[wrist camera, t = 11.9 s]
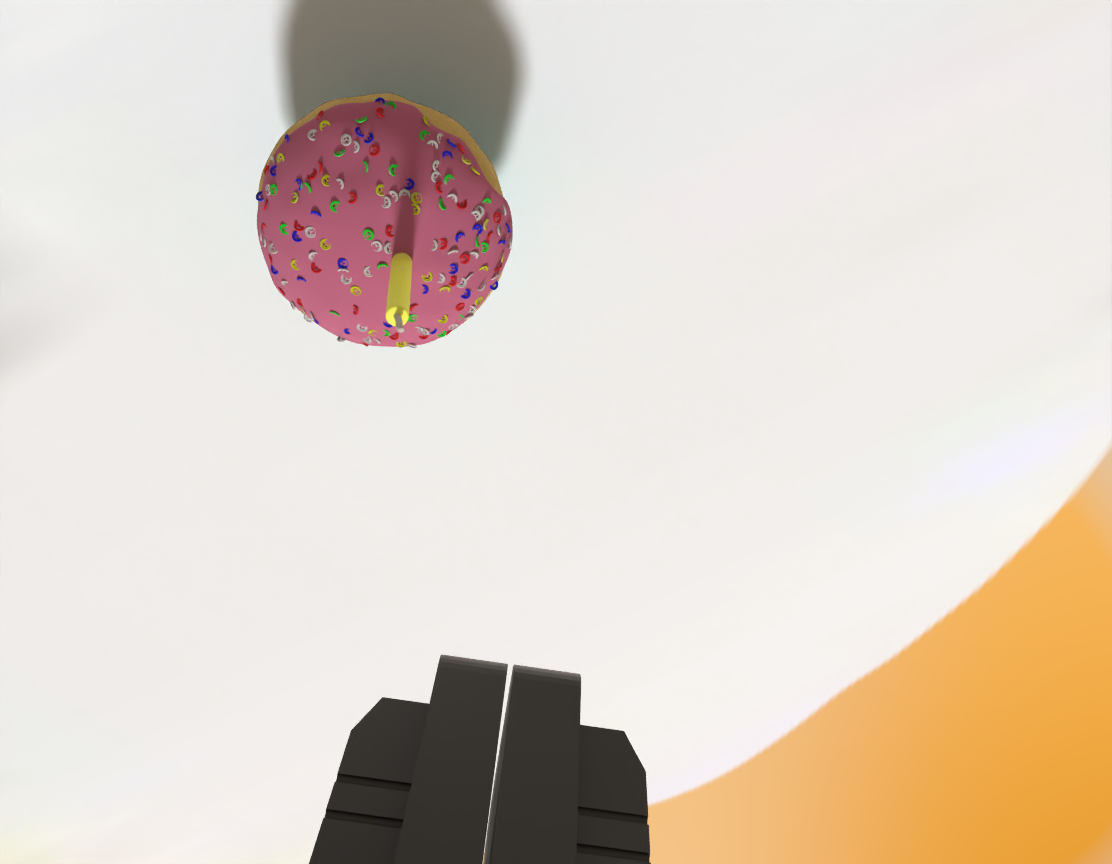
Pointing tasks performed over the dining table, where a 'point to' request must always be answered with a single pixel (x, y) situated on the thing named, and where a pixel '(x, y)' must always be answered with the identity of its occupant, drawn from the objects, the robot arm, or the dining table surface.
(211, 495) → the dining table surface
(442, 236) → the cupcake
